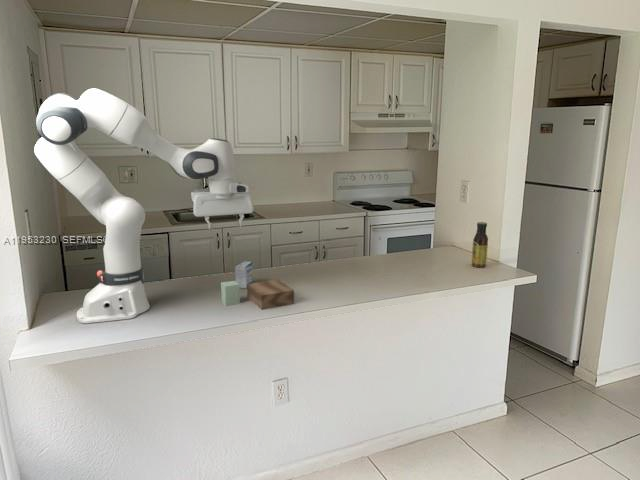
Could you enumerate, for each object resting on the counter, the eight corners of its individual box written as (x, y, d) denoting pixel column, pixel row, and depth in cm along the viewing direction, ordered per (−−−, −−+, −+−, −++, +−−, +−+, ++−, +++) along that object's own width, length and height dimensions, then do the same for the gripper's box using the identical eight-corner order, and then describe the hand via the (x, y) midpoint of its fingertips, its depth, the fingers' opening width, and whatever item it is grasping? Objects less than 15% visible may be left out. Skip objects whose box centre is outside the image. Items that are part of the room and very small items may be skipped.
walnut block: (261, 309, 161) (261, 295, 160) (247, 297, 173) (247, 284, 172) (293, 303, 167) (293, 290, 165) (277, 292, 178) (277, 279, 177)
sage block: (226, 305, 165) (225, 286, 163) (221, 301, 169) (220, 282, 167) (239, 303, 167) (239, 284, 165) (235, 299, 171) (234, 280, 170)
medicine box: (246, 288, 183) (245, 267, 181) (235, 287, 183) (234, 266, 181) (253, 282, 190) (252, 261, 188) (243, 281, 191) (242, 260, 189)
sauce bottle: (471, 263, 216) (474, 220, 212) (485, 264, 215) (489, 221, 210) (471, 267, 210) (474, 223, 206) (486, 268, 209) (489, 224, 204)
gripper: (190, 190, 154) (194, 231, 157) (253, 187, 160) (255, 227, 163) (190, 188, 160) (193, 228, 163) (250, 185, 166) (252, 223, 169)
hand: (225, 227), depth 163 cm, fingers open, 8 cm apart
